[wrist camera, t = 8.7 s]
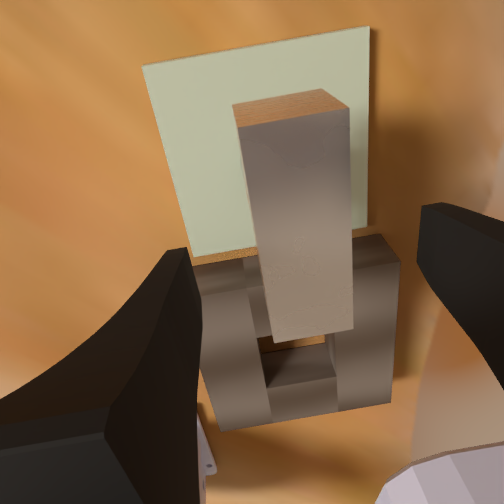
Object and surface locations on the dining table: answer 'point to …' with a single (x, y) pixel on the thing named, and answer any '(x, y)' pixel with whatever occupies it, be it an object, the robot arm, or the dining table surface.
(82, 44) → the dining table surface
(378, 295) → the block
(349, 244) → the t-key
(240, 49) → the pad
